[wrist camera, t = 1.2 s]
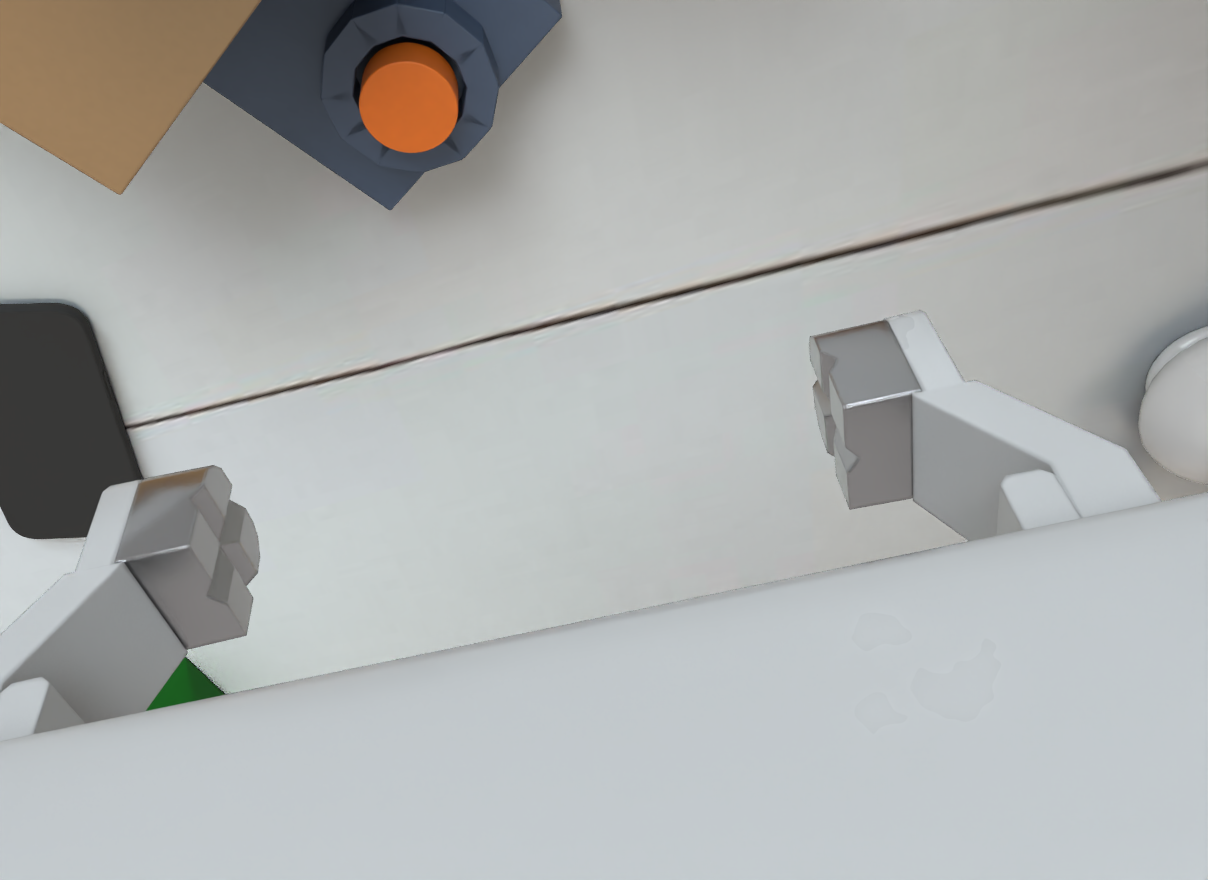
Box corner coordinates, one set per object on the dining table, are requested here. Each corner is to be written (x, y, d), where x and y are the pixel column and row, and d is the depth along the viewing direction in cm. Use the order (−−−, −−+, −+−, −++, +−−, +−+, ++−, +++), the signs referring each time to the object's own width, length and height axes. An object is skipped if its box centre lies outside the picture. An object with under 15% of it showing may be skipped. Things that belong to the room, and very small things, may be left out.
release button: (342, 93, 42) (339, 113, 41) (400, 21, 41) (398, 41, 40) (420, 149, 44) (418, 171, 43) (477, 83, 43) (478, 103, 41)
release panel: (208, 49, 45) (188, 99, 42) (370, -178, 40) (362, -143, 37) (397, 183, 50) (393, 237, 46) (563, -6, 45) (571, 39, 41)
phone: (14, 541, 61) (-92, 314, 51) (19, 529, 61) (-85, 304, 51) (156, 534, 61) (79, 310, 51) (159, 523, 62) (84, 299, 52)
